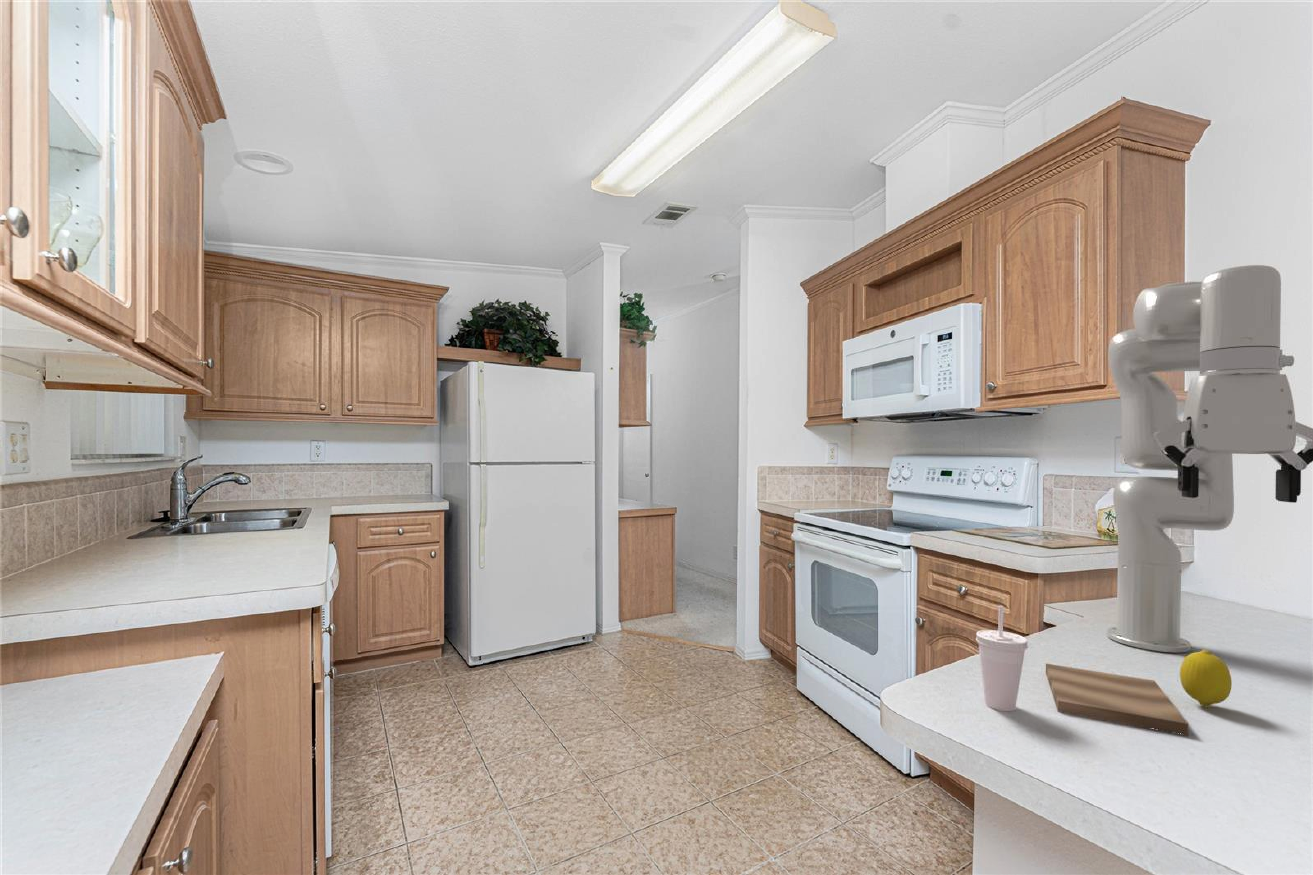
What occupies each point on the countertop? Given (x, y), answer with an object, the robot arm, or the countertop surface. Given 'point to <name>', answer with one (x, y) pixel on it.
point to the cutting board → (1113, 698)
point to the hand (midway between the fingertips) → (1236, 499)
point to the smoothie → (1001, 665)
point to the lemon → (1205, 678)
